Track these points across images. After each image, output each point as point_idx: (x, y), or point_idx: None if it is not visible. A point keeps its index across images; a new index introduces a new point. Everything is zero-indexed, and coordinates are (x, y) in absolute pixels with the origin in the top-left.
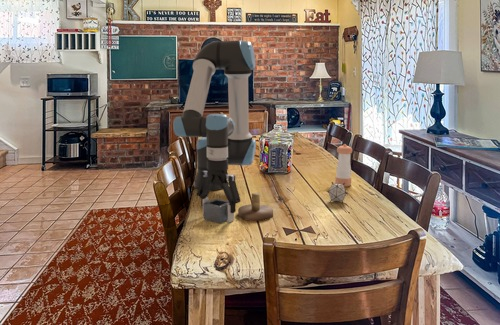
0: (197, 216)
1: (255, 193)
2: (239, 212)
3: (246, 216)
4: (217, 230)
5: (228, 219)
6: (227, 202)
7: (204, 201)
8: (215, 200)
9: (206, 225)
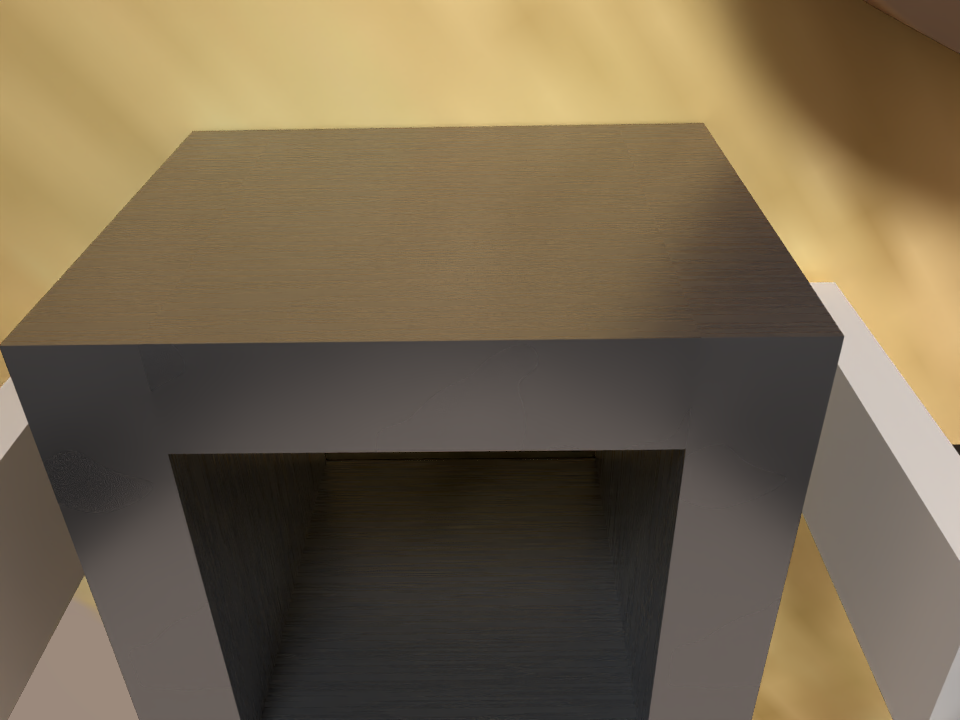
0: None
1: None
2: (900, 13)
3: None
4: (771, 691)
5: None
6: (695, 481)
7: (12, 694)
8: (186, 517)
9: None
